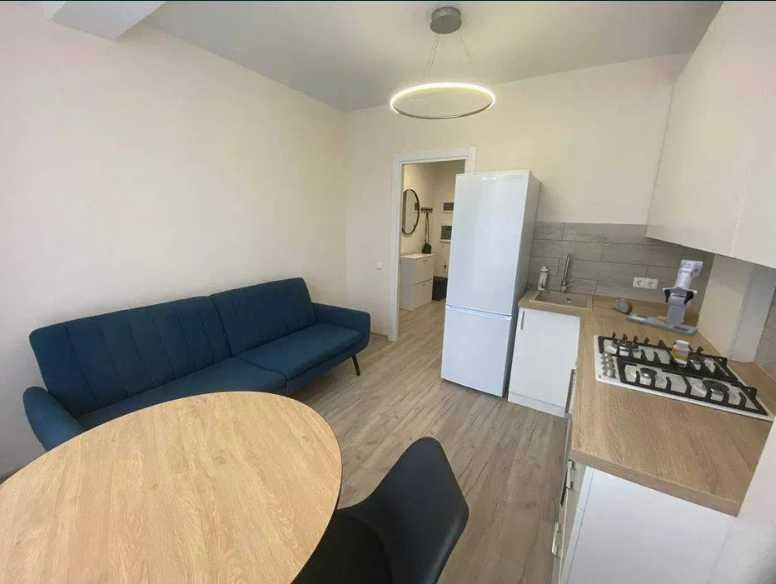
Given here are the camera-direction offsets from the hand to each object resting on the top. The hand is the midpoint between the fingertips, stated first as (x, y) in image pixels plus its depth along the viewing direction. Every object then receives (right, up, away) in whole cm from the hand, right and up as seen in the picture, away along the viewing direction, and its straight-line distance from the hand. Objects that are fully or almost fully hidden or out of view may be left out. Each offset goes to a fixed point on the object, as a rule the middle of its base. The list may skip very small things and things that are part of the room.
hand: (675, 302), depth 178 cm
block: (-2, -12, +7) cm, 14 cm away
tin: (-4, -7, +36) cm, 37 cm away
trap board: (0, -14, +10) cm, 17 cm away
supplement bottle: (-33, -25, -37) cm, 56 cm away
